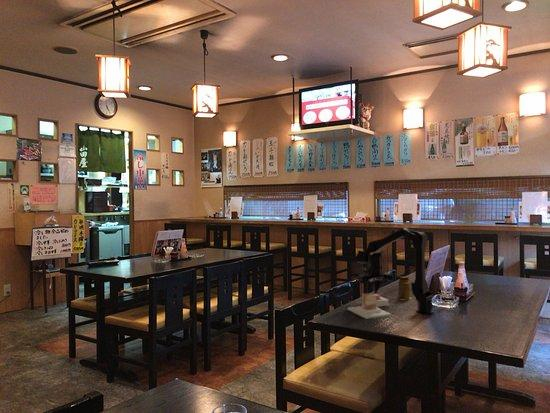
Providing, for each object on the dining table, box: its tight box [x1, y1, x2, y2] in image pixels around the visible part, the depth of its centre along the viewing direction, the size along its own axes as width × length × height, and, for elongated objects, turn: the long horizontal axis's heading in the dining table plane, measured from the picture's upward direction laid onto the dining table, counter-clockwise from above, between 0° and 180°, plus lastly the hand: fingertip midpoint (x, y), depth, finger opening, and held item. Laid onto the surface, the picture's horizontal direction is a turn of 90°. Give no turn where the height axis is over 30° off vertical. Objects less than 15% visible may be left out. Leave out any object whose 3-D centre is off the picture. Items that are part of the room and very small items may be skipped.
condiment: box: [392, 275, 413, 301], centre depth 246 cm, size 7×8×12 cm
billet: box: [361, 292, 376, 310], centre depth 216 cm, size 5×5×8 cm
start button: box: [373, 293, 381, 300], centre depth 233 cm, size 5×5×3 cm
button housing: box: [376, 296, 390, 308], centre depth 233 cm, size 10×10×3 cm
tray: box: [347, 305, 392, 320], centre depth 216 cm, size 18×14×2 cm
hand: (375, 293), depth 233 cm, fingers closed
